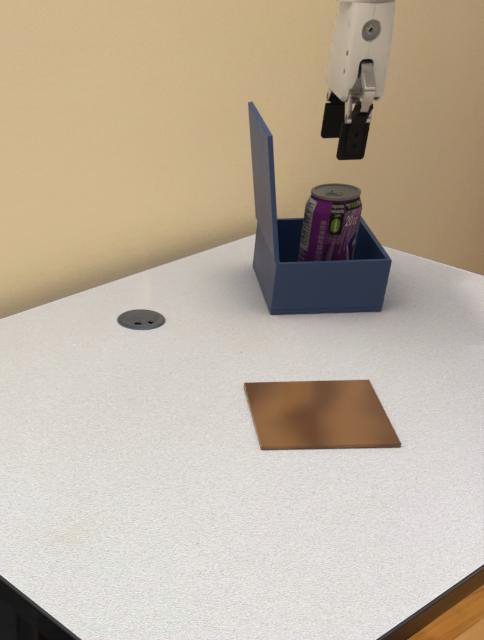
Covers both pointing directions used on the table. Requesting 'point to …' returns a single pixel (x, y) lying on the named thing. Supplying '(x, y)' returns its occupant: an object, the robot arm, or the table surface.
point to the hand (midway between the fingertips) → (341, 147)
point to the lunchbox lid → (264, 179)
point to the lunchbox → (321, 274)
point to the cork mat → (319, 415)
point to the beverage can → (330, 223)
